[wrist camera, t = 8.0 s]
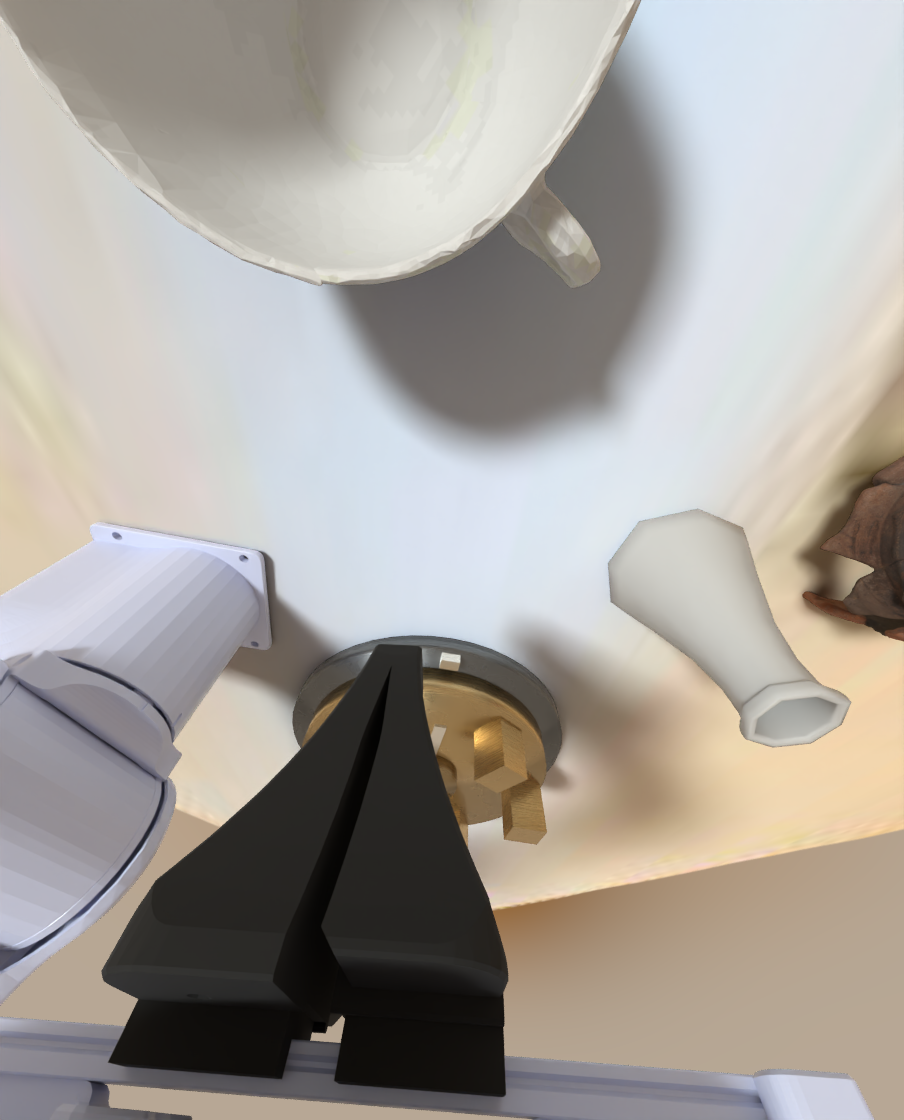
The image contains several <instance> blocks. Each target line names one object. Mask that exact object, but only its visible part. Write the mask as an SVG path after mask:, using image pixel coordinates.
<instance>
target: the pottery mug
mask: <svg viewBox="0 0 904 1120" xmlns="http://www.w3.org/2000/svg"><path fill="white" fill-rule="evenodd" d="M872 482H873V485H874V486H875V487H871V488H867V489H865V490H863V491H862V493H861V494H860V496H859V497H858V499H857V500H856V502H855V505H854V509H853V511H852V513H851V514H850V517H849V519H848V521H847V523H846V525H845V526H844V527H843V528H842V529H841V530H840V531H839V532H838V533H837V534H836V535H835V536H833V537H831V538H830V539H828V540H827V541H826V542H825V543H824V544H823V545H822V546H821V547H820V549H822V550H825V551H831V552H834V553H836V554H839V555H842V556H844V557H847V558H850V559H854V560H857V561H859V562H861V563H864V564H866V565H868V566H870V567H872V568H874V572H872V573H870V574H868V575H866V576H864V577H862V578H860V579H858V581H857V582H856V584H855V586H854V587H853V589H852V591H851V593H850V594H849V595H848V596H847V597H846V598H845V599H844V600H843V601H838V600H832V599H828V598H824V597H821V596H818V595H816V594H814V593H811V592H805V593H804V594H803V595H802V596H803V597H804V598H805V599H807V600H809V601H810V602H811V603H812V604H814V605H815V606H816V607H818V608H819V609H821V610H823V611H824V612H826V613H828V614H830V615H833V616H836V617H839V618H842V619H845V620H848V621H852V622H855V623H859V624H864V625H866V626H868V627H872V628H873V629H874V630H875V631H877V632H880V633H881V634H882V635H884V636H888V637H889V638H893V639H896V640H901V641H904V457H902V458H900V459H898V460H897V461H895V462H894V463H893V464H891V465H889V466H888V467H886V468H885V469H883V470H881V471H879V472H878V473H877V474H876V475H875V476H874V477H873V479H872Z"/></svg>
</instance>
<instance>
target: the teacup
mask: <svg viewBox="0 0 904 1120" xmlns="http://www.w3.org/2000/svg"><path fill="white" fill-rule="evenodd" d="M640 2H641V0H0V21H1V22H2V24H3V26H4V27H5V29H6V30H7V32H8V33H9V35H10V36H11V38H12V40H13V41H14V43H15V45H16V46H17V48H18V50H19V51H20V53H21V55H22V56H23V58H24V60H25V62H26V63H27V65H28V67H29V68H30V70H31V71H32V72H33V74H34V75H35V77H36V78H37V79H38V81H39V82H40V84H41V85H42V86H43V88H44V89H45V91H46V92H47V93H48V94H49V96H50V97H51V98H52V99H53V100H54V101H55V102H56V104H57V105H58V106H59V107H60V108H61V109H62V111H63V112H64V113H65V114H66V115H67V116H68V117H69V119H70V120H71V121H72V122H73V123H74V124H75V125H76V126H77V127H78V128H79V129H80V130H81V132H82V133H83V134H84V135H85V137H86V138H87V139H88V140H89V142H90V143H91V144H92V145H93V146H94V147H95V148H96V149H97V150H98V151H99V152H100V153H101V154H102V155H103V156H104V157H105V158H106V159H107V160H108V161H109V162H110V163H111V164H112V165H113V166H114V167H115V168H117V169H118V170H119V171H120V172H121V173H122V174H123V175H124V176H125V177H126V178H127V179H129V180H130V181H131V182H132V183H133V184H134V185H135V186H136V187H137V188H139V189H140V190H141V191H142V192H143V193H145V194H146V195H147V196H148V197H150V198H151V199H152V200H153V201H155V202H156V203H157V204H159V205H160V206H161V207H162V208H164V209H165V210H166V211H167V212H168V213H169V214H171V215H172V216H173V217H174V218H175V219H176V220H177V221H178V222H179V223H181V224H182V225H184V226H186V227H188V228H189V229H191V230H193V231H195V232H196V233H198V234H200V235H201V236H203V237H204V238H206V239H207V240H209V241H210V242H212V243H213V244H215V245H217V246H218V247H220V248H222V249H224V250H225V251H227V252H229V253H231V254H232V255H234V256H236V257H238V258H239V259H241V260H244V261H246V262H249V263H252V264H254V265H257V266H260V267H263V268H265V269H268V270H271V271H273V272H276V273H280V274H284V275H288V276H291V277H294V278H296V279H299V280H302V281H305V282H308V283H311V284H314V285H318V286H321V285H322V284H336V285H357V284H379V283H384V282H390V281H395V280H401V279H405V278H409V277H412V276H415V275H419V274H421V273H424V272H426V271H428V270H431V269H433V268H435V267H438V266H440V265H442V264H445V263H446V262H448V261H450V260H452V259H454V258H455V257H457V256H459V255H461V254H462V253H464V252H465V251H467V250H468V249H469V248H471V247H472V246H474V245H475V244H477V243H478V242H479V241H480V240H481V239H483V238H484V237H485V236H486V235H487V234H489V233H490V232H491V231H492V230H494V229H495V228H496V227H497V226H498V225H499V224H500V223H501V222H502V223H503V225H504V226H505V228H506V229H507V230H508V232H509V233H510V235H511V236H512V237H513V238H514V239H515V240H516V241H517V242H518V243H519V244H520V245H522V246H523V247H525V248H526V249H528V250H529V251H531V252H533V253H534V254H535V255H537V256H538V257H539V258H540V259H542V260H543V261H544V262H545V263H546V264H547V265H548V266H549V267H550V268H552V269H553V270H554V271H555V272H556V273H557V274H558V275H559V276H560V277H561V278H562V280H563V281H564V282H565V283H566V284H567V285H568V286H570V287H571V288H577V287H580V286H583V285H585V284H587V283H589V282H591V281H592V279H593V278H594V277H595V276H596V275H597V274H598V273H599V272H600V267H601V264H600V260H599V257H598V255H597V253H596V251H595V249H594V247H593V244H592V242H591V240H590V238H589V237H588V235H587V234H586V233H585V231H584V230H583V228H582V227H581V225H580V224H579V223H578V222H577V220H576V219H575V218H574V217H573V216H572V214H571V213H570V212H569V211H568V209H567V208H566V207H565V206H564V205H563V203H562V202H561V201H560V200H559V199H558V197H557V196H556V195H555V194H554V193H553V192H552V191H551V190H550V189H549V188H548V187H547V186H546V183H545V172H546V171H547V170H548V168H549V167H550V166H551V164H552V163H553V162H554V160H555V159H556V158H557V156H558V155H559V153H560V152H561V151H562V149H563V148H564V146H565V145H566V144H567V142H568V141H569V139H570V138H571V137H572V135H573V134H574V132H575V130H576V128H577V127H578V125H579V123H580V121H581V120H582V118H583V116H584V115H585V113H586V111H587V109H588V108H589V106H590V104H591V102H592V101H593V99H594V97H595V96H596V94H597V92H598V90H599V88H600V86H601V84H602V82H603V80H604V78H605V76H606V74H607V72H608V70H609V68H610V66H611V64H612V62H613V60H614V58H615V56H616V54H617V52H618V50H619V48H620V46H621V44H622V42H623V40H624V38H625V36H626V34H627V32H628V30H629V27H630V25H631V23H632V20H633V18H634V16H635V13H636V11H637V9H638V7H639V4H640Z"/></svg>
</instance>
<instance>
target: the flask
mask: <svg viewBox="0 0 904 1120" xmlns="http://www.w3.org/2000/svg"><path fill="white" fill-rule="evenodd" d="M608 570H609V584H610V598H611V602H612V603H613V604H615V605H616V606H617V607H619V608H620V609H622V610H623V611H624V612H626V613H627V614H629V615H630V616H632V617H633V618H635V619H636V620H638V621H639V622H641V623H642V624H644V625H645V626H647V627H648V628H650V629H651V630H653V631H654V632H655V633H657V634H658V635H660V636H661V637H662V638H664V639H665V640H666V641H668V642H669V643H670V644H672V645H673V646H675V647H676V648H677V649H679V650H680V651H681V652H683V653H684V654H685V655H687V656H688V657H689V658H691V659H692V660H693V661H694V662H695V663H696V664H697V665H698V666H699V667H700V668H701V669H702V670H703V671H704V672H705V673H706V674H707V675H708V676H709V677H710V678H711V679H712V680H713V681H714V682H715V683H716V684H717V685H718V686H719V687H720V688H721V689H722V690H723V691H724V693H725V694H726V696H727V697H728V698H729V700H730V701H731V703H732V704H733V706H734V707H735V708H736V710H737V711H738V713H739V715H740V717H741V720H740V725H739V728H740V731H741V733H742V735H743V736H744V738H745V739H747V740H750V741H753V742H756V743H760V744H763V745H766V746H770V747H782V746H791V745H801V744H810V743H812V742H814V741H816V740H817V739H819V738H821V737H822V736H824V735H825V734H827V733H829V732H830V731H832V730H834V729H835V728H837V727H838V726H840V725H842V723H843V720H844V718H845V716H846V713H847V711H848V709H849V706H850V704H851V701H850V700H849V699H848V698H847V696H845V695H844V694H842V693H841V692H839V691H837V690H834V689H831V688H829V687H826V686H823V685H822V684H820V683H819V682H818V681H817V680H816V679H815V678H814V677H813V676H812V674H811V673H810V672H809V671H808V670H807V669H806V668H805V667H804V666H803V665H802V664H801V662H800V661H799V660H798V659H797V658H796V656H795V654H794V653H793V651H792V650H791V648H790V646H789V645H788V643H787V642H786V640H785V638H784V637H783V635H782V633H781V632H780V630H779V629H778V627H777V625H776V624H775V622H774V619H773V616H772V613H771V611H770V608H769V605H768V602H767V600H766V597H765V594H764V591H763V589H762V586H761V583H760V580H759V578H758V575H757V571H756V568H755V565H754V561H753V558H752V555H751V551H750V548H749V544H748V541H747V538H746V535H745V533H744V530H743V528H742V527H740V526H737V525H735V524H733V523H730V522H728V521H726V520H723V519H721V518H718V517H716V516H714V515H711V514H709V513H707V512H704V511H702V510H699V509H695V510H690V511H685V512H681V513H676V514H671V515H667V516H662V517H657V518H653V519H648V520H643V521H639V522H638V524H637V525H636V526H635V528H634V529H633V530H632V532H631V533H630V534H629V536H628V537H627V538H626V540H625V541H624V543H623V544H622V545H621V547H620V548H619V549H618V551H617V552H616V553H615V555H614V556H613V557H612V559H611V560H610V561H609V563H608Z"/></svg>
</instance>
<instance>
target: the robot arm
mask: <svg viewBox="0 0 904 1120" xmlns="http://www.w3.org/2000/svg"><path fill="white" fill-rule="evenodd" d="M90 532H91V535H92V538H93V541H91V542H89V543H88V544H86V545H84V546H83V547H81V548H79V549H78V550H76V551H74V552H73V553H71V554H69V555H68V556H66V557H64V558H63V559H61V560H59V561H58V562H56V563H54V564H53V565H51V566H49V567H48V568H46V569H44V570H43V571H41V572H39V573H38V574H36V575H34V576H33V577H31V578H29V579H28V580H26V581H24V582H22V583H21V584H19V585H17V586H16V587H14V588H12V589H11V590H9V591H7V592H6V593H4V594H2V595H1V596H0V1006H1V1004H2V1003H3V1002H4V1001H5V1000H6V999H7V998H8V997H9V996H10V995H11V994H12V993H13V992H14V991H15V990H16V989H17V988H18V987H19V986H20V984H21V983H22V982H23V981H24V980H25V979H27V977H29V976H30V975H31V974H32V973H33V972H34V971H35V970H36V969H37V968H38V967H39V966H41V965H42V964H43V963H44V962H45V961H46V960H47V959H49V958H50V957H51V956H52V955H54V954H55V953H56V952H58V951H59V950H60V949H62V948H63V947H65V946H66V945H67V944H69V943H70V942H71V941H73V940H74V939H75V938H77V937H78V936H79V935H81V934H82V933H84V932H85V931H86V930H87V929H88V928H89V927H91V925H93V924H94V923H95V922H97V921H98V920H99V919H100V918H102V917H103V916H104V915H105V914H106V913H107V912H108V911H109V910H110V909H111V908H113V907H114V906H115V905H116V904H117V902H118V901H119V900H120V899H121V898H122V897H123V896H124V895H125V894H126V893H127V892H128V891H129V889H130V888H131V887H132V886H133V885H134V883H135V882H136V881H137V880H138V878H139V877H140V876H141V874H142V873H143V872H144V870H145V869H146V867H147V866H148V864H149V863H150V862H151V860H152V858H153V857H154V855H155V854H156V852H157V850H158V848H159V846H160V844H161V843H162V841H163V838H164V836H165V834H166V831H167V829H168V826H169V823H170V821H171V818H172V815H173V812H174V808H175V804H176V788H175V785H174V783H173V782H172V780H171V779H170V778H168V776H169V774H170V773H171V771H172V770H173V768H174V767H175V765H176V764H177V762H178V761H179V759H180V758H181V756H182V754H181V753H180V752H179V751H178V750H177V749H176V748H175V746H174V745H173V742H174V740H175V739H176V737H177V736H178V735H179V733H180V732H181V730H182V729H183V727H184V726H185V724H186V723H187V722H188V720H189V719H190V717H191V716H192V714H193V713H194V712H195V710H196V709H197V707H198V706H199V704H200V703H201V701H202V700H203V699H204V697H205V696H206V694H207V693H208V691H209V690H210V689H211V687H212V686H213V684H214V683H215V681H216V680H217V678H218V677H219V676H220V674H221V673H222V671H223V670H224V668H225V667H226V666H227V664H228V663H229V661H230V660H231V658H232V657H233V656H234V654H235V653H236V651H237V650H238V648H239V647H240V646H241V647H247V648H253V649H260V650H268V649H269V648H270V647H271V645H272V638H271V627H270V616H269V605H268V594H267V583H266V573H265V562H264V557H263V555H262V554H261V553H260V552H258V551H256V550H251V549H246V548H240V547H235V546H229V545H224V544H218V543H213V542H207V541H202V540H196V539H190V538H185V537H179V536H174V535H168V534H163V533H157V532H152V531H146V530H141V529H135V528H130V527H124V526H119V525H113V524H108V523H102V522H97V523H95V524H93V525H91V526H90ZM243 555H244V556H246V557H247V558H248V559H246V558H245V557H243ZM102 976H103V980H104V981H105V982H106V983H107V984H109V985H111V986H113V987H115V988H117V989H119V990H121V991H123V992H125V993H127V994H129V995H131V996H133V997H135V998H138V1001H137V1003H136V1005H135V1008H134V1010H133V1012H132V1014H131V1016H130V1018H129V1020H128V1022H127V1024H126V1026H114V1025H101V1024H88V1023H75V1022H61V1021H49V1020H37V1019H24V1018H11V1017H0V1120H192V1117H191V1116H185V1115H176V1114H165V1113H157V1112H150V1111H139V1110H129V1109H118V1108H110V1106H109V1102H108V1100H109V1089H108V1086H107V1085H105V1084H113V1085H126V1086H138V1087H150V1088H162V1089H174V1090H186V1091H198V1092H211V1093H223V1094H236V1095H247V1096H259V1097H271V1098H285V1099H295V1100H296V1099H297V1100H307V1101H320V1102H332V1103H344V1104H356V1105H368V1106H380V1107H393V1108H405V1109H417V1110H430V1111H441V1112H453V1113H465V1114H477V1115H490V1116H502V1117H514V1118H527V1119H533V1120H875V1119H874V1117H873V1116H872V1113H871V1112H870V1109H869V1107H868V1106H867V1103H866V1102H865V1099H864V1097H863V1095H862V1093H861V1092H860V1089H859V1087H858V1085H857V1083H856V1081H855V1080H854V1079H853V1078H851V1077H850V1076H849V1075H848V1074H844V1073H831V1072H818V1071H805V1070H792V1069H767V1070H761V1071H757V1072H755V1074H754V1075H744V1074H731V1073H718V1072H706V1071H693V1070H680V1069H667V1068H654V1067H642V1066H629V1065H616V1064H603V1063H589V1062H576V1061H564V1060H551V1059H539V1058H526V1057H525V1058H524V1057H513V1056H504V1034H503V1027H504V999H503V992H504V989H505V987H506V984H507V982H508V968H507V962H506V956H505V952H504V949H503V945H502V942H501V938H500V934H499V931H498V928H497V925H496V921H495V918H494V915H493V911H492V908H491V905H490V901H489V898H488V895H487V892H486V890H485V888H484V886H483V883H482V881H481V879H480V877H479V874H478V872H477V870H476V867H475V865H474V862H473V860H472V858H471V855H470V853H469V850H468V848H467V845H466V843H465V840H464V838H463V835H462V833H461V830H460V827H459V824H458V822H457V819H456V816H455V813H454V811H453V808H452V805H451V802H450V799H449V797H448V794H447V791H446V788H445V785H444V781H443V778H442V775H441V772H440V768H439V765H438V761H437V758H436V754H435V751H434V747H433V743H432V739H431V735H430V730H429V726H428V721H427V716H426V711H425V705H424V699H423V659H422V648H421V647H419V646H414V645H393V644H378V645H377V646H376V647H375V648H374V650H373V652H372V654H371V655H370V657H369V659H368V660H367V662H366V664H365V665H364V667H363V668H362V670H361V672H360V673H359V675H358V676H357V678H356V679H355V681H354V682H353V683H352V685H351V686H350V688H349V689H348V691H347V692H346V693H345V695H344V696H343V698H342V699H341V700H340V702H339V703H338V704H337V706H336V707H335V708H334V710H333V711H332V712H331V713H330V715H329V716H328V717H327V718H326V720H325V721H324V722H323V724H322V725H321V726H320V727H319V729H318V730H317V731H316V732H315V733H314V735H313V736H312V737H311V738H310V739H309V740H308V742H307V743H306V744H305V745H304V746H303V747H302V748H301V749H300V751H299V752H298V753H297V754H296V755H295V756H294V757H293V758H292V759H291V760H290V761H289V763H288V764H287V765H286V766H285V767H284V768H283V769H282V770H281V771H280V772H279V773H278V774H277V775H276V776H275V777H274V778H273V779H272V780H271V781H270V782H269V783H268V784H267V785H266V786H265V787H264V788H263V789H262V790H261V791H260V792H259V793H258V794H257V795H256V796H255V797H253V798H252V799H251V800H250V801H249V802H248V803H247V804H246V805H245V806H244V807H242V808H241V809H240V810H239V811H238V812H237V813H236V814H235V815H234V816H232V817H231V818H230V819H229V820H228V821H227V822H226V823H225V824H224V825H223V826H221V827H220V828H219V829H218V830H217V831H216V832H215V833H213V834H212V835H211V836H210V837H209V838H208V839H206V840H205V841H204V842H203V843H201V844H200V845H199V846H198V847H196V848H195V849H194V850H193V851H192V852H190V853H189V854H188V855H187V856H185V857H184V858H183V859H182V860H181V861H179V862H178V863H177V864H176V865H174V866H173V867H172V868H171V869H169V870H168V871H167V872H166V873H165V874H163V875H162V876H161V877H159V878H158V879H157V880H156V881H155V883H154V884H153V886H152V887H151V889H150V890H149V892H148V893H147V895H146V897H145V898H144V899H143V901H142V902H141V904H140V905H139V906H138V908H137V910H136V911H135V913H134V915H133V916H132V918H131V920H130V921H129V923H128V925H127V927H126V929H125V930H124V932H123V934H122V936H121V937H120V939H119V941H118V943H117V944H116V946H115V948H114V950H113V952H112V953H111V955H110V957H109V959H108V960H107V962H106V964H105V966H104V968H103V969H102ZM342 1015H343V1017H344V1018H345V1023H344V1028H343V1034H342V1039H341V1043H333V1042H320V1041H310V1039H311V1034H312V1032H314V1033H326V1031H327V1027H328V1026H332V1025H334V1024H335V1022H336V1021H337V1020H338V1019H339V1018H340V1017H341V1016H342Z"/></svg>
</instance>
